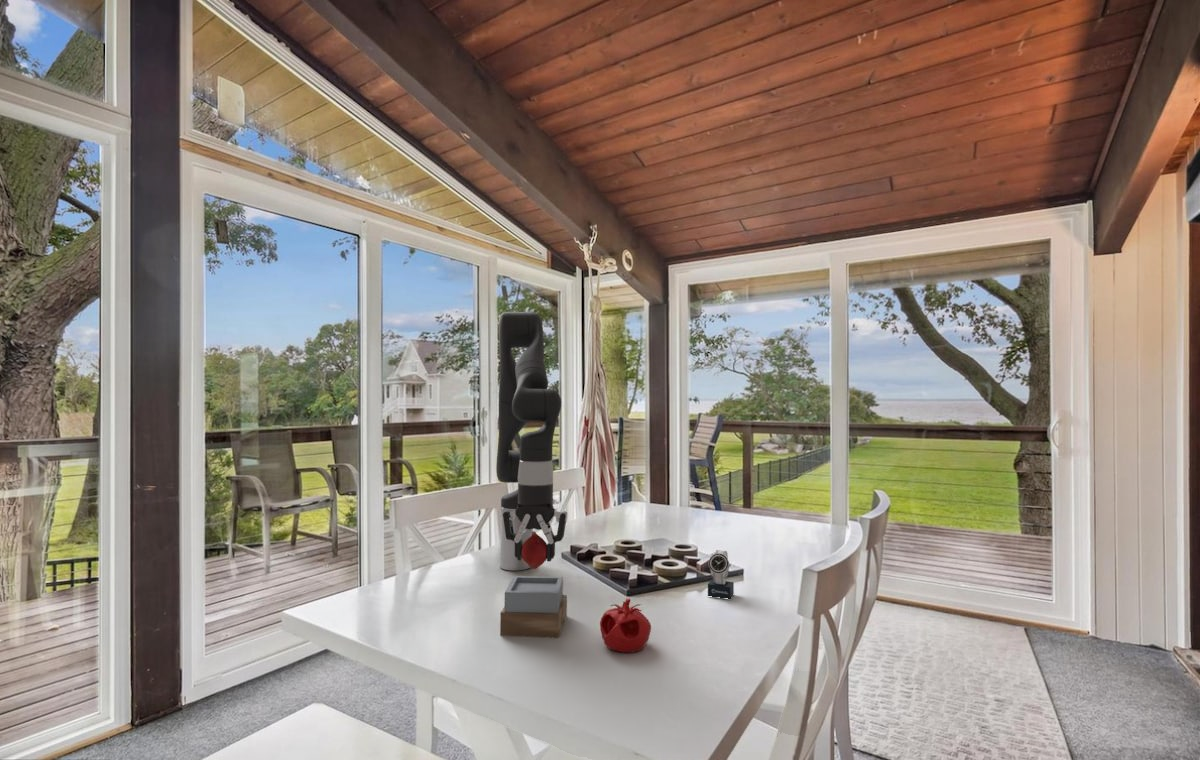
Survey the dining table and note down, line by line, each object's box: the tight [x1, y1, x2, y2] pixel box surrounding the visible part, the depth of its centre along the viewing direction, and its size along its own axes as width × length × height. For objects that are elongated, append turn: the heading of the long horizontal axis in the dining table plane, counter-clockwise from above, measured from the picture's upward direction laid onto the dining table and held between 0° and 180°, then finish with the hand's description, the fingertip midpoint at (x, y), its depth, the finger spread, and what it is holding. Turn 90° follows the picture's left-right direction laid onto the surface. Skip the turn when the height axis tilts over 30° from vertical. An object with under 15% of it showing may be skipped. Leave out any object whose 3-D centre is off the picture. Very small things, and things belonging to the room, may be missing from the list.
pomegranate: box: [599, 598, 652, 653], centre depth 116 cm, size 10×10×9 cm
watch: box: [707, 549, 735, 600], centre depth 146 cm, size 6×8×11 cm
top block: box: [503, 575, 564, 613], centre depth 126 cm, size 11×11×4 cm
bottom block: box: [499, 594, 568, 639], centre depth 126 cm, size 12×12×5 cm
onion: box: [521, 530, 548, 570], centre depth 126 cm, size 6×6×8 cm
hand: (534, 559), depth 126 cm, fingers closed on onion, 6 cm apart
